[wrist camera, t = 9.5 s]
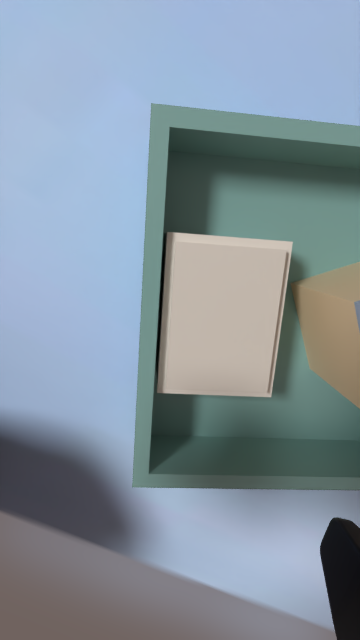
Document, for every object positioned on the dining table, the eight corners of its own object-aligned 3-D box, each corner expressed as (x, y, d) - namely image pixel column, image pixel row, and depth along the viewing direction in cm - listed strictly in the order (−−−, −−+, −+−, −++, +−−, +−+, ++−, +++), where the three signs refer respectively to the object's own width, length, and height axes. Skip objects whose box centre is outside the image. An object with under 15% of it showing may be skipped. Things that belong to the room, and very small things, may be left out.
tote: (136, 439, 22) (132, 487, 18) (152, 136, 18) (151, 103, 14) (370, 444, 24) (419, 491, 19) (430, 164, 20) (508, 142, 15)
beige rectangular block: (156, 371, 20) (157, 396, 17) (165, 233, 19) (167, 231, 15) (254, 375, 21) (273, 400, 18) (271, 241, 19) (296, 241, 16)
